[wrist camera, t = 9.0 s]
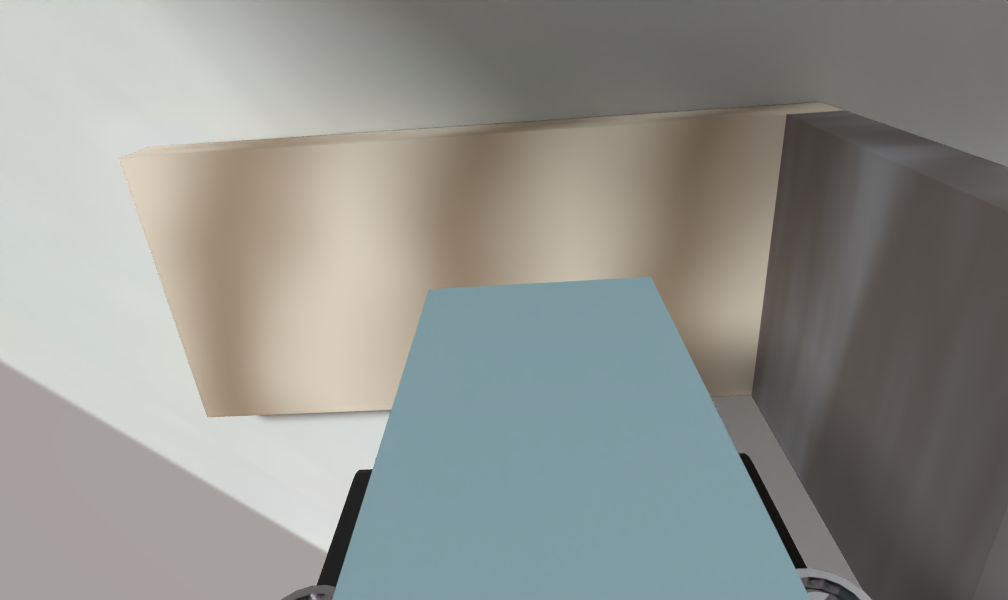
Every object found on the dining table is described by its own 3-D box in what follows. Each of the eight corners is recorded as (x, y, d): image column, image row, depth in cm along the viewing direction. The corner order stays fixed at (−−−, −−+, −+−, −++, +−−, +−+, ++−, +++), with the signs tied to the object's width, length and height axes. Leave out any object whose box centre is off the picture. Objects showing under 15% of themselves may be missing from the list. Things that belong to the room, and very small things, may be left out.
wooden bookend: (820, 102, 18) (1235, 246, 7) (780, 368, 22) (1016, 707, 11) (147, 147, 19) (-310, 326, 9) (226, 392, 23) (-23, 719, 12)
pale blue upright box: (651, 276, 11) (830, 641, 5) (641, 559, 14) (743, 1014, 8) (429, 289, 11) (314, 654, 5) (466, 565, 14) (424, 1014, 8)
